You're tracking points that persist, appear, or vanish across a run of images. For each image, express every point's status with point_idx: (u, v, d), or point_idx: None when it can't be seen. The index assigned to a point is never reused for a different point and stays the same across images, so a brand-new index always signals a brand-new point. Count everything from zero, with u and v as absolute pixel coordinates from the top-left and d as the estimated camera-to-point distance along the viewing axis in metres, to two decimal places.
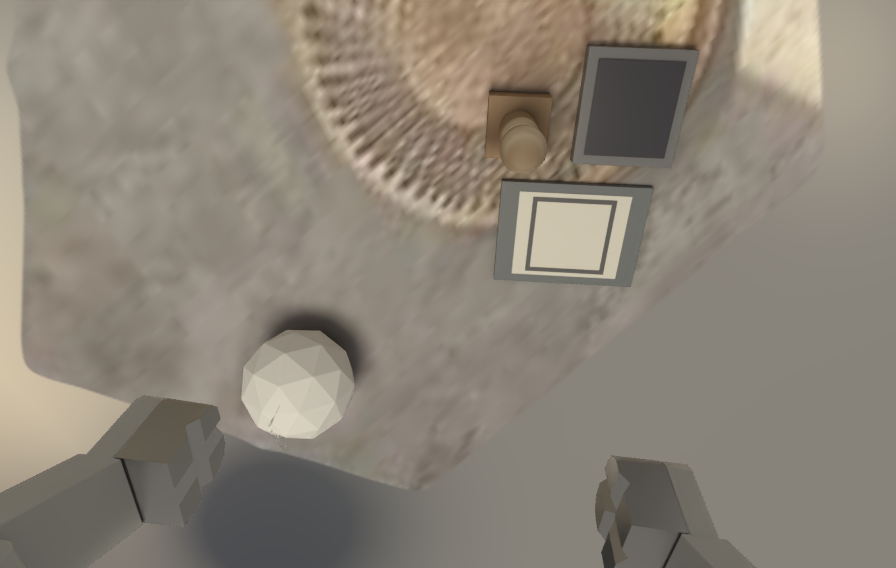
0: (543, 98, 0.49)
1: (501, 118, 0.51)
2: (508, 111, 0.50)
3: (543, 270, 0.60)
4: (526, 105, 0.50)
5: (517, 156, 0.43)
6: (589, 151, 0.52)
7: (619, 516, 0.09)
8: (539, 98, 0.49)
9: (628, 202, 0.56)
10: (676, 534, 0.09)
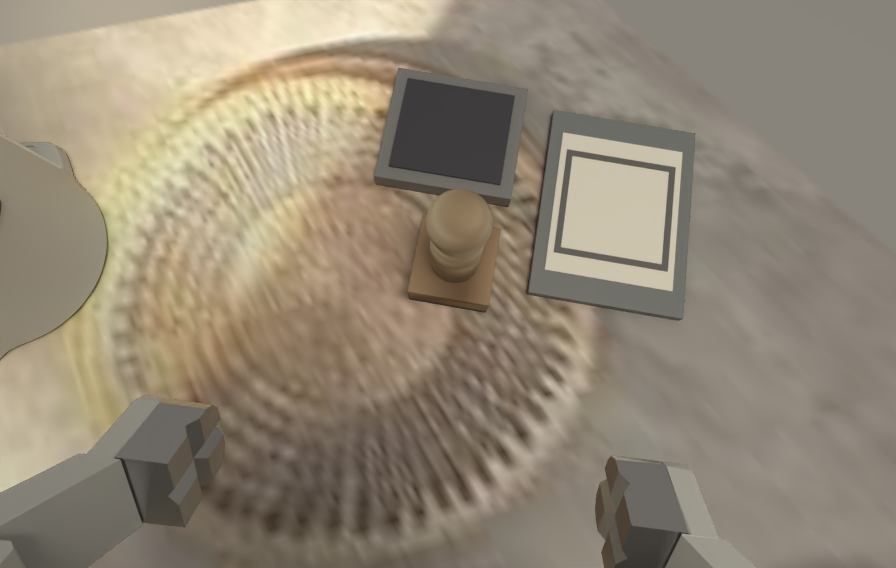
0: (421, 225, 0.39)
1: (438, 278, 0.38)
2: (431, 269, 0.38)
3: (668, 246, 0.41)
4: (427, 246, 0.39)
5: (460, 221, 0.29)
6: (496, 177, 0.41)
7: (619, 516, 0.09)
8: (420, 230, 0.39)
9: (570, 136, 0.43)
10: (676, 534, 0.09)
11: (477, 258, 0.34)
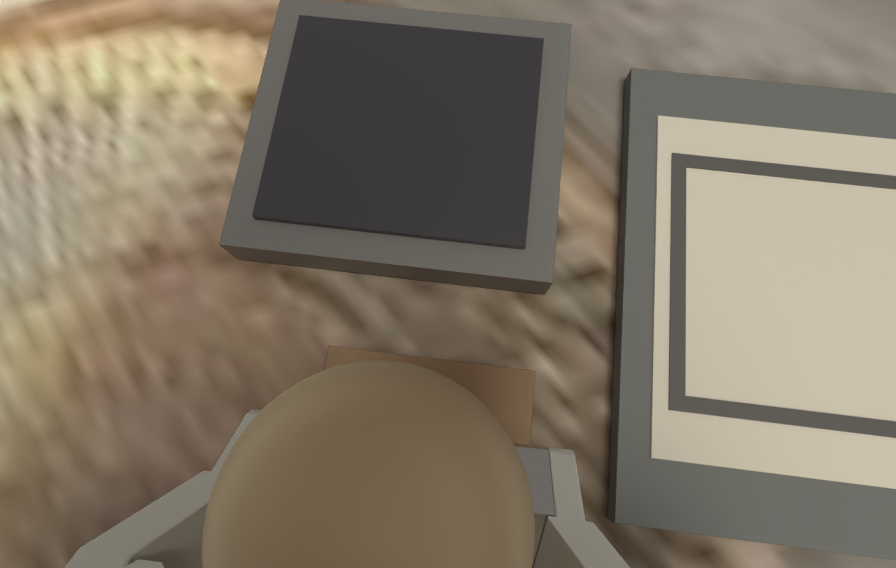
0: None
1: None
2: None
3: None
4: None
5: None
6: (515, 231, 0.17)
7: None
8: None
9: (674, 124, 0.19)
10: (544, 516, 0.09)
11: None
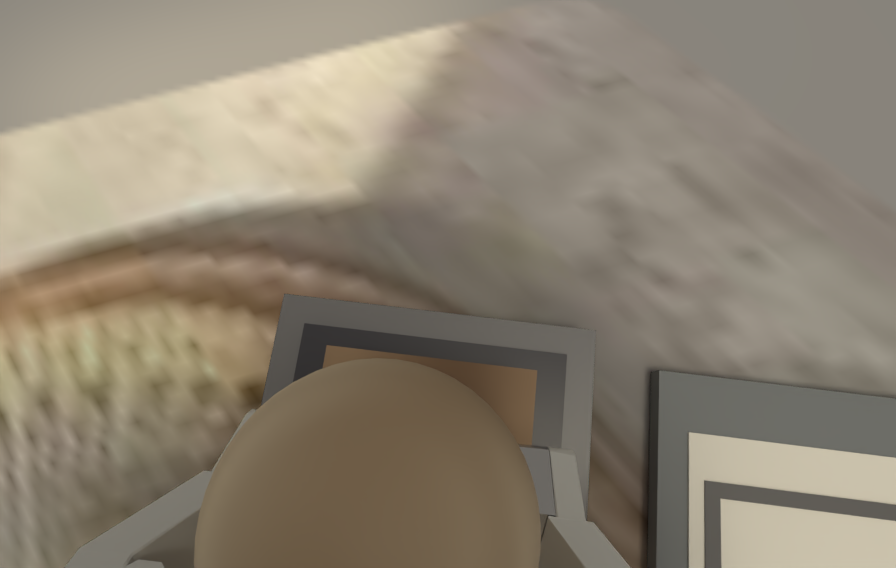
0: None
1: None
2: None
3: None
4: None
5: None
6: None
7: None
8: None
9: (706, 441, 0.18)
10: (544, 517, 0.09)
11: None
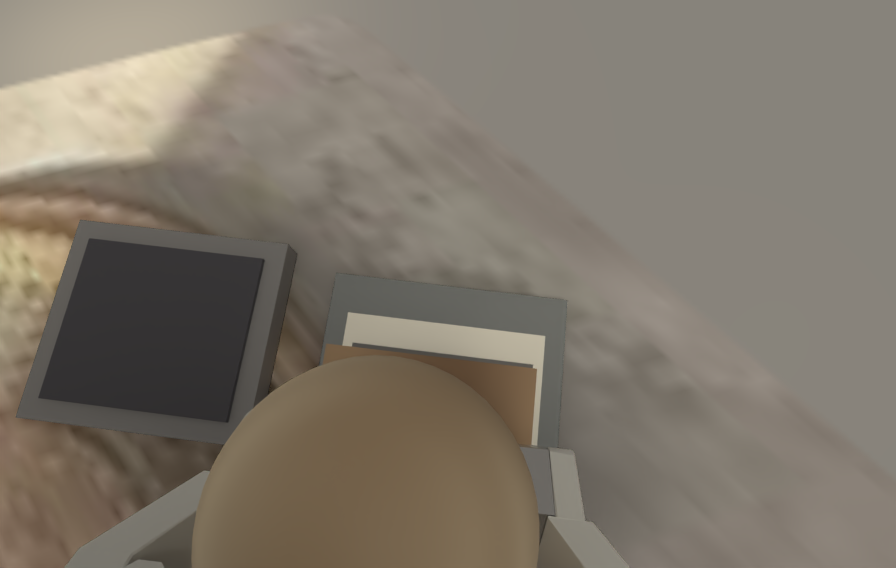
0: None
1: None
2: None
3: None
4: None
5: None
6: (219, 411, 0.24)
7: None
8: None
9: (359, 318, 0.26)
10: (544, 516, 0.09)
11: None
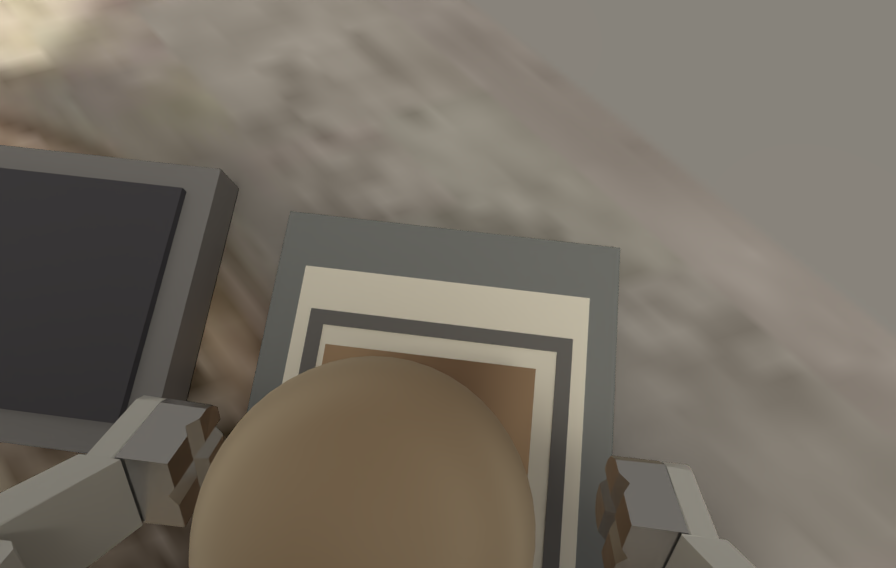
0: None
1: None
2: None
3: (556, 561, 0.16)
4: None
5: None
6: (109, 406, 0.16)
7: (619, 516, 0.09)
8: None
9: (322, 274, 0.18)
10: (676, 534, 0.09)
11: None
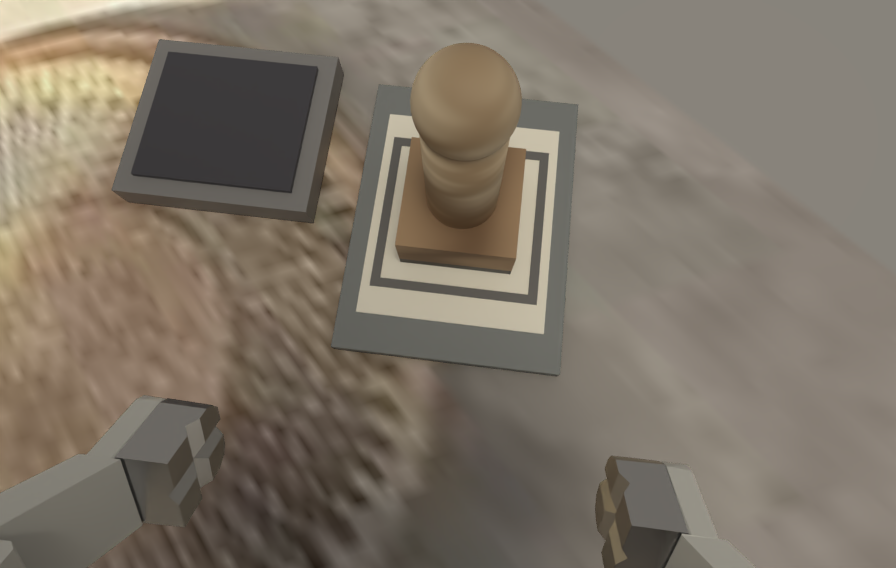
0: (410, 151, 0.27)
1: (440, 224, 0.26)
2: (428, 211, 0.26)
3: (538, 267, 0.28)
4: (420, 179, 0.26)
5: (468, 85, 0.17)
6: (284, 182, 0.28)
7: (619, 516, 0.09)
8: (410, 158, 0.27)
9: (399, 119, 0.31)
10: (676, 534, 0.09)
11: (497, 175, 0.22)
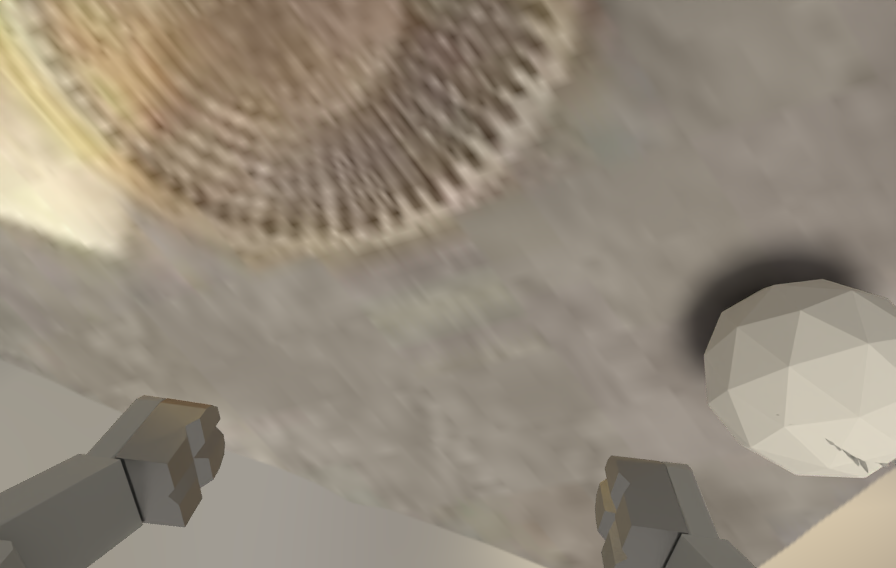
0: None
1: None
2: None
3: None
4: None
5: None
6: None
7: (619, 516, 0.09)
8: None
9: None
10: (676, 534, 0.09)
11: None
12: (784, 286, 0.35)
